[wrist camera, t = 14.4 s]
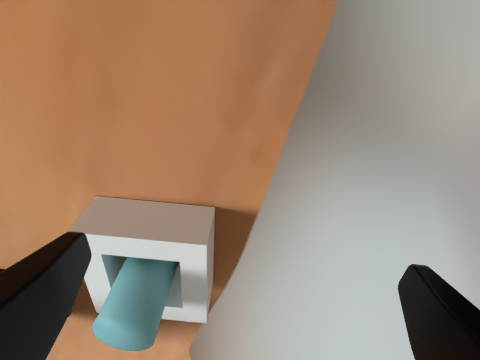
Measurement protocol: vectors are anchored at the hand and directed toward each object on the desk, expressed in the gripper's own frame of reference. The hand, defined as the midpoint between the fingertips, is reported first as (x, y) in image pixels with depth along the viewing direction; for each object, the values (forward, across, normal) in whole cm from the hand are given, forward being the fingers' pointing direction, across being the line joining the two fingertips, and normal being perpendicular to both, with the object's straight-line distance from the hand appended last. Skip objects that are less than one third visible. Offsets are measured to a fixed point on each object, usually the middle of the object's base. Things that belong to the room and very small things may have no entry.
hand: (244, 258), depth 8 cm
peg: (+12, +7, +13) cm, 19 cm away
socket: (+12, +7, +13) cm, 19 cm away
